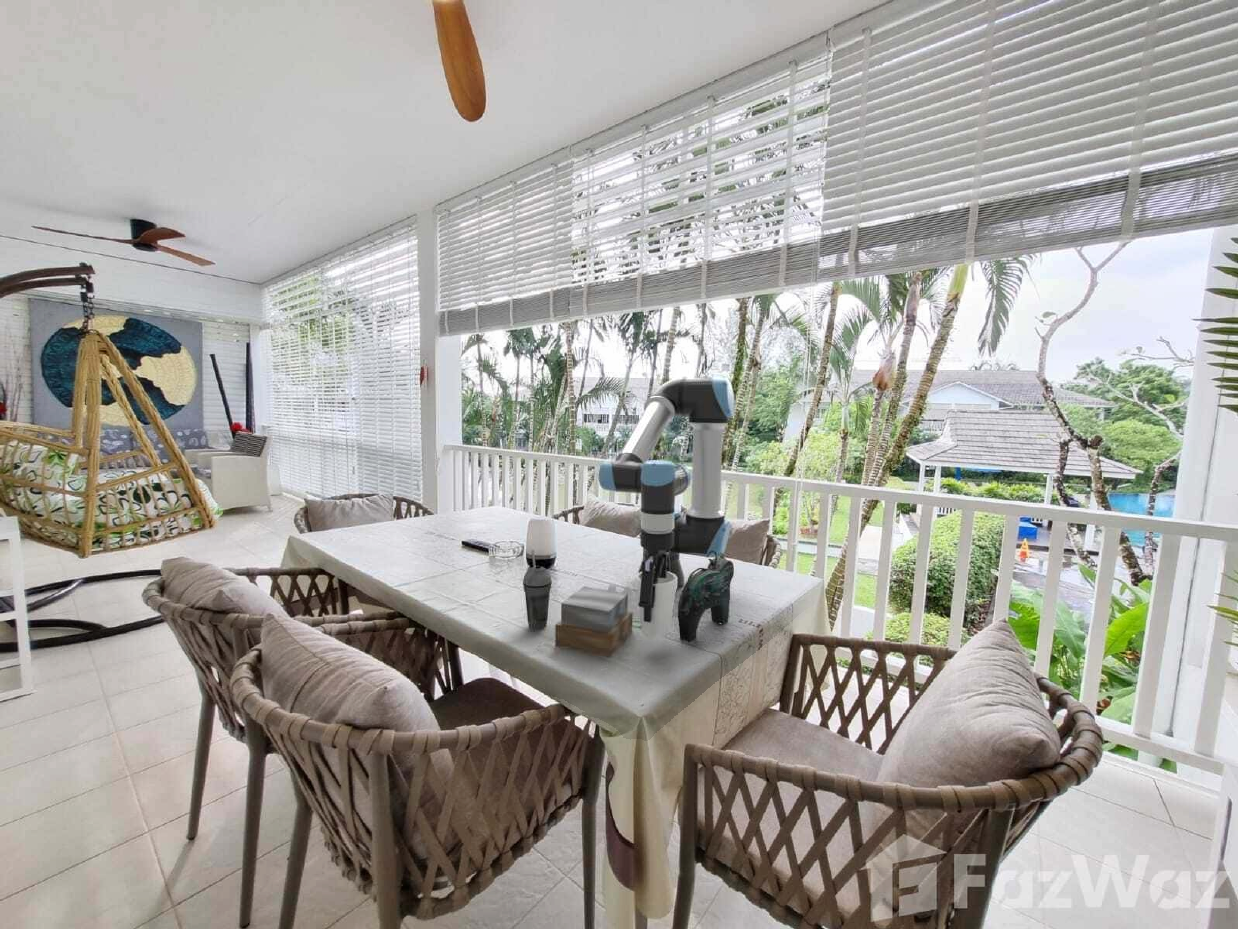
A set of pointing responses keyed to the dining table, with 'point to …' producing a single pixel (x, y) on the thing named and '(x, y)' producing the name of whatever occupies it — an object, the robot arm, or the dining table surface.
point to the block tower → (594, 621)
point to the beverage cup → (537, 595)
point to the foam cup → (661, 602)
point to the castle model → (631, 604)
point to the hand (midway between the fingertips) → (655, 624)
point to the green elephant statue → (705, 596)
